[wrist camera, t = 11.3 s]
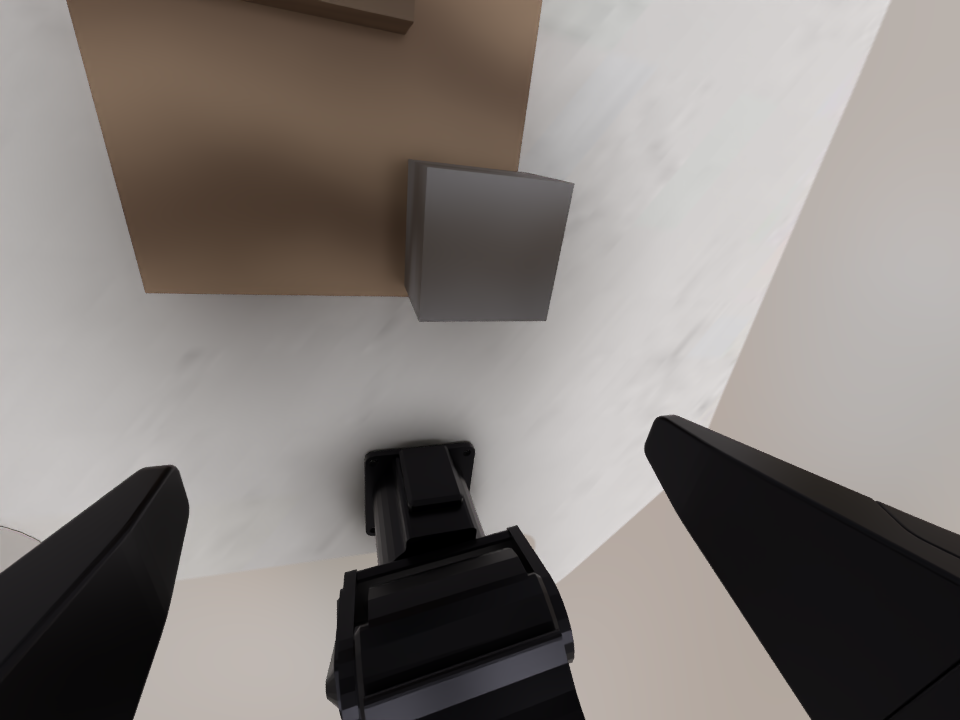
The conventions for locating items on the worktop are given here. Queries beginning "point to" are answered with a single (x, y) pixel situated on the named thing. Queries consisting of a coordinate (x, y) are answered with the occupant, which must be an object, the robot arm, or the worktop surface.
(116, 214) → the worktop surface
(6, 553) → the cylindrical container
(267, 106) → the walnut base board
